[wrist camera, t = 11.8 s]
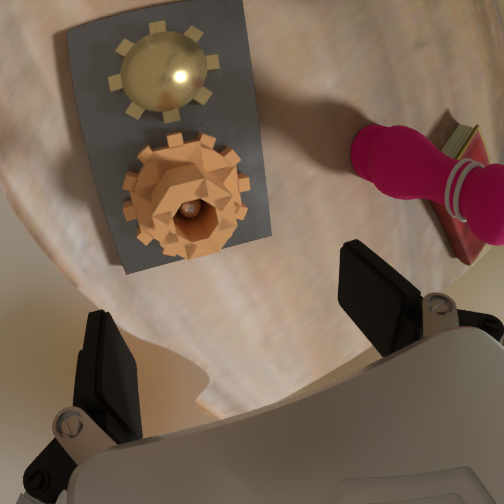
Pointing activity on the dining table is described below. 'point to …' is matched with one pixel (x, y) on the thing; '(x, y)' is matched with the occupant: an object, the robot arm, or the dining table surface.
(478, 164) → the pepper mill
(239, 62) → the carrier plate
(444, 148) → the hardcover book
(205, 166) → the gear
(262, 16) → the dining table surface
